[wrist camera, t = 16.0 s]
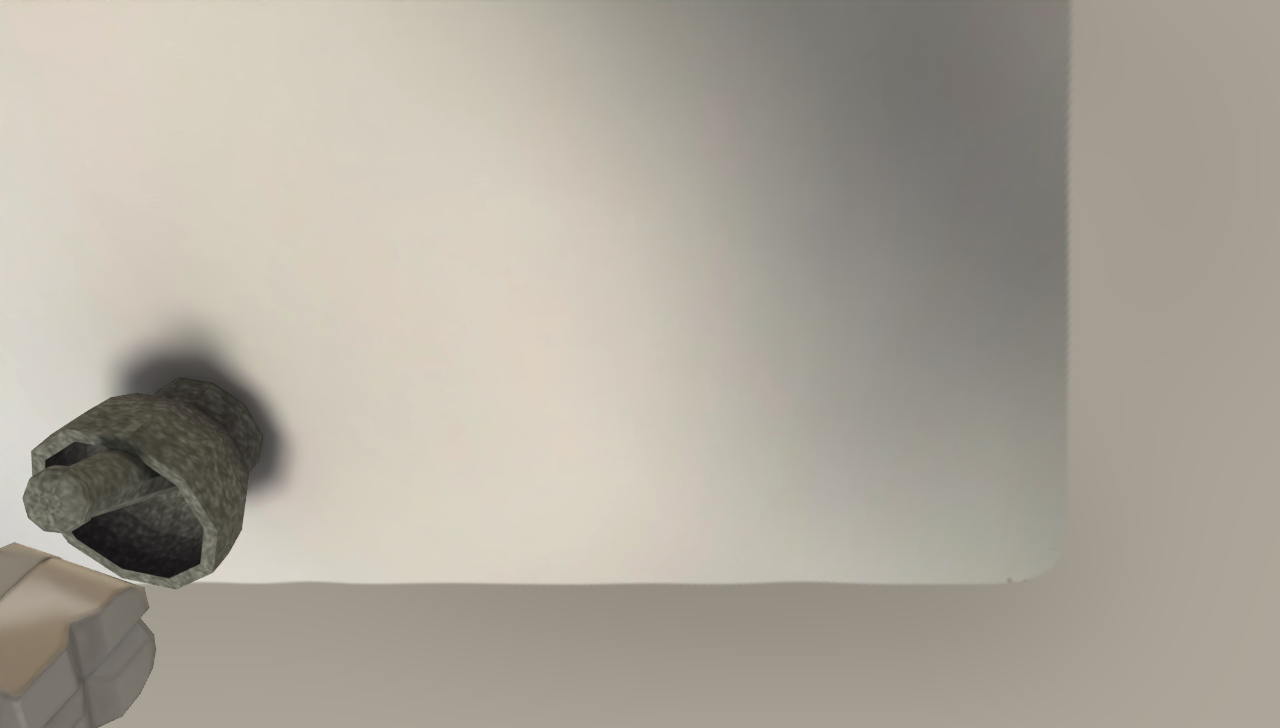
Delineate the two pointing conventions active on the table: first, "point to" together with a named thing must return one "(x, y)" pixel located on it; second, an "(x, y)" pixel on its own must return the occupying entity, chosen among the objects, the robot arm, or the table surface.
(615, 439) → the table surface
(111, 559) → the mortar and pestle
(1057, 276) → the table surface
